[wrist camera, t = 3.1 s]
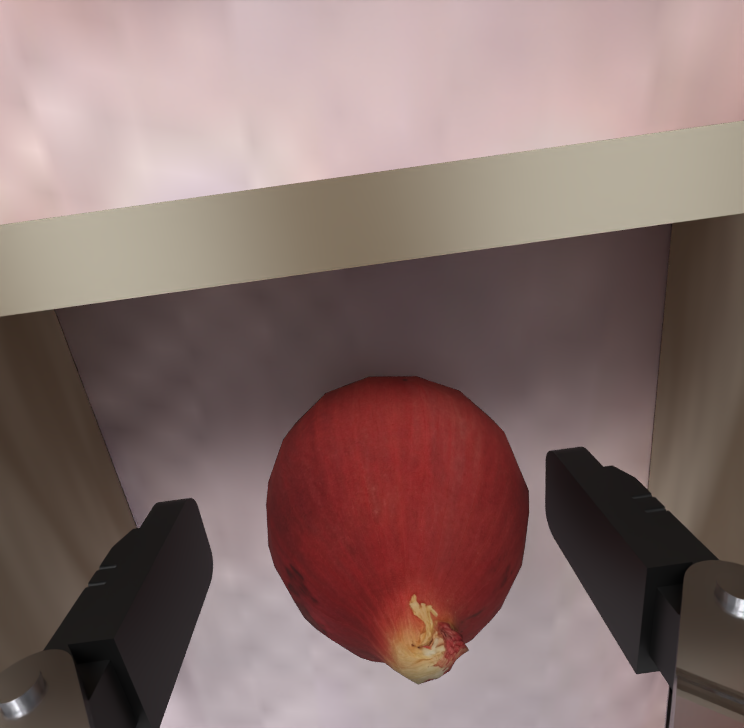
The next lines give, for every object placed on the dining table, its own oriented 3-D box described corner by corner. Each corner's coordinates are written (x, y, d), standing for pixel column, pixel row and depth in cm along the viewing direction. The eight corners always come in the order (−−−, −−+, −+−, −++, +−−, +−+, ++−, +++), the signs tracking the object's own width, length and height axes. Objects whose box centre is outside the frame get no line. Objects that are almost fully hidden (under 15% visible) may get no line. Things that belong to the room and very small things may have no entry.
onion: (433, 524, 16) (509, 831, 8) (265, 478, 15) (177, 773, 7) (509, 371, 14) (696, 585, 6) (323, 308, 13) (285, 467, 5)
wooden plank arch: (727, 130, 12) (1070, 74, 6) (674, 563, 17) (839, 752, 11) (-24, 235, 12) (-358, 275, 6) (142, 635, 17) (37, 858, 11)
